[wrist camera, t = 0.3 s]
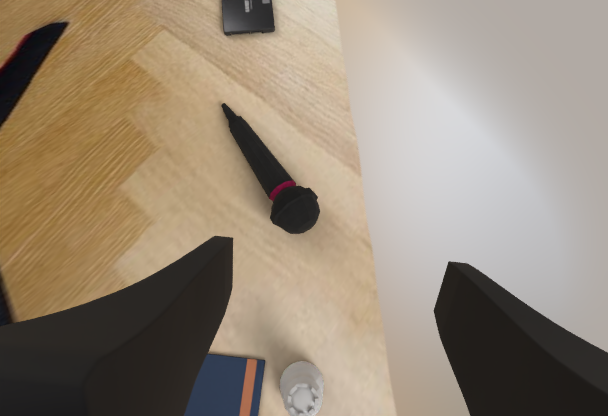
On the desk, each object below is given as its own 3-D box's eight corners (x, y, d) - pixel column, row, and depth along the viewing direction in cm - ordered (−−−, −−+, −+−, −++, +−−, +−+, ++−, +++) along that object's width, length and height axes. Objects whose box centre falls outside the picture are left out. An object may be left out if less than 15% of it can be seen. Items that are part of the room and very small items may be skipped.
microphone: (219, 128, 49) (296, 246, 41) (194, 107, 43) (278, 239, 36) (250, 102, 48) (334, 218, 41) (228, 78, 43) (321, 206, 35)
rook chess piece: (310, 352, 37) (313, 359, 30) (331, 393, 36) (340, 412, 29) (272, 374, 37) (265, 388, 29) (292, 417, 36) (291, 443, 28)
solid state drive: (268, -23, 53) (268, -27, 52) (275, 32, 50) (274, 28, 49) (221, -19, 52) (220, -24, 52) (224, 36, 49) (223, 32, 49)
